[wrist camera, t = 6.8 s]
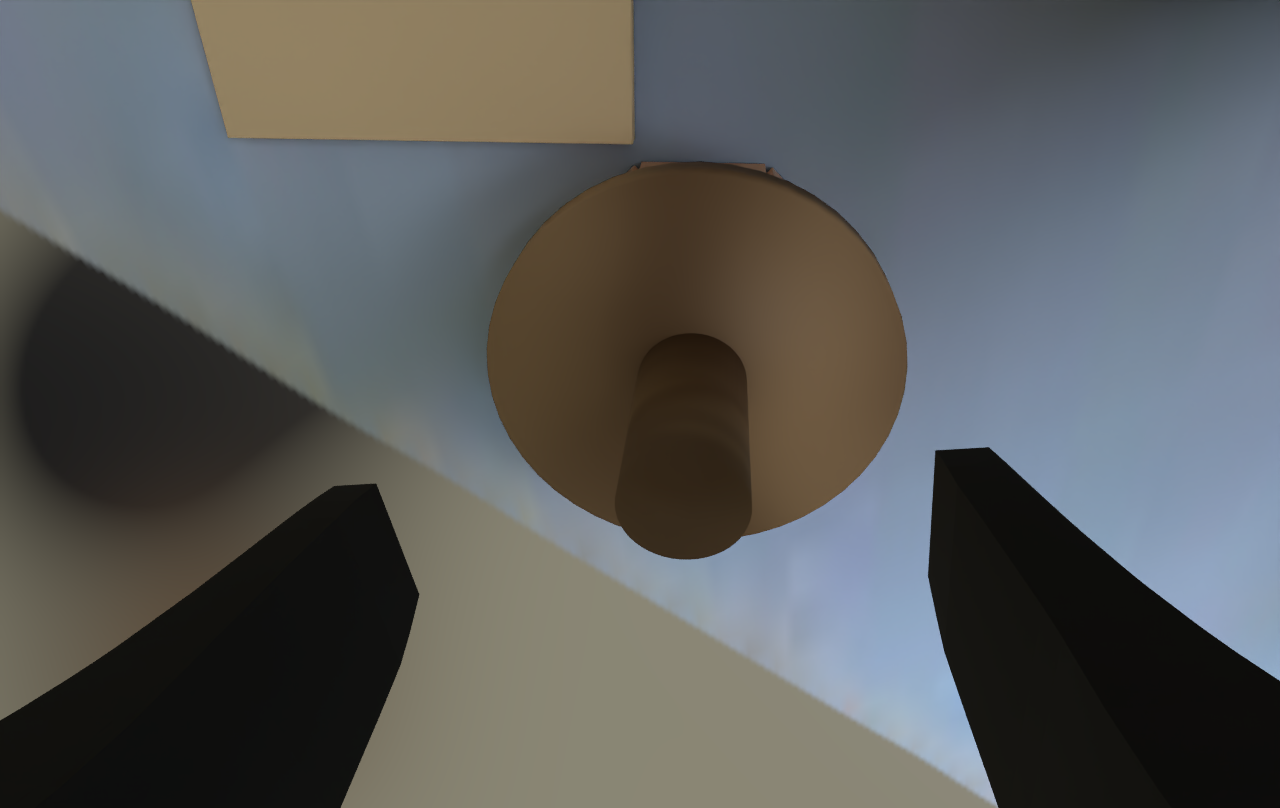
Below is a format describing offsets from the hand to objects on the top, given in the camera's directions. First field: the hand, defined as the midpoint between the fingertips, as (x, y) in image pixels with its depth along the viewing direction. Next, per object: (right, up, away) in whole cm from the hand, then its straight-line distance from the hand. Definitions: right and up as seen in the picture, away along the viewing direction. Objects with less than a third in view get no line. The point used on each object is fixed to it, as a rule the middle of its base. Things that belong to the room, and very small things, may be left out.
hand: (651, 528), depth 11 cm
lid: (+1, +2, +6) cm, 7 cm away
